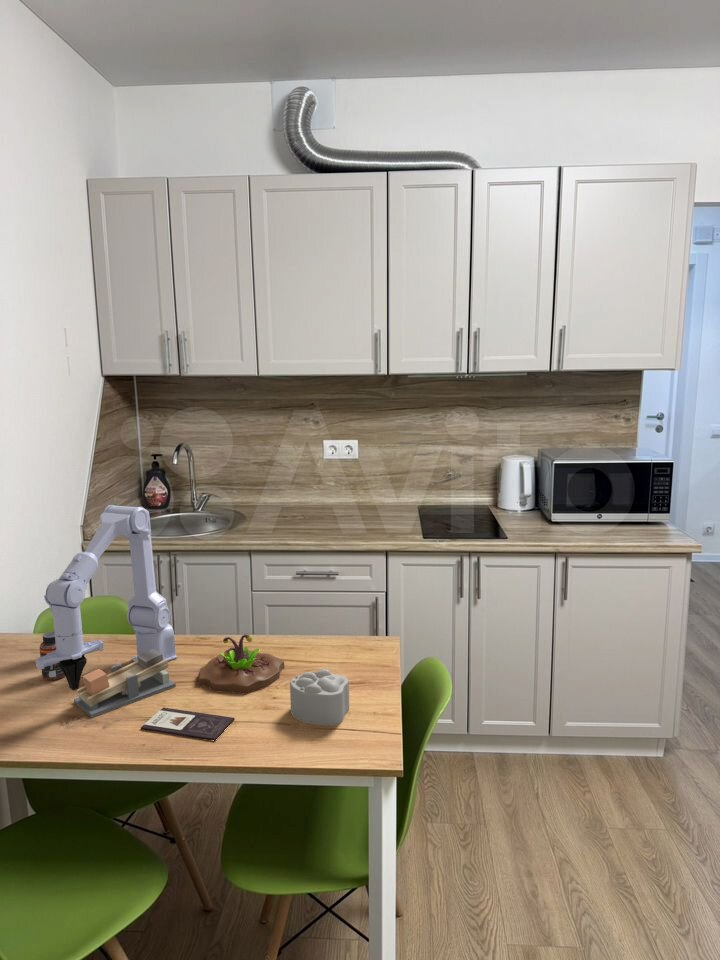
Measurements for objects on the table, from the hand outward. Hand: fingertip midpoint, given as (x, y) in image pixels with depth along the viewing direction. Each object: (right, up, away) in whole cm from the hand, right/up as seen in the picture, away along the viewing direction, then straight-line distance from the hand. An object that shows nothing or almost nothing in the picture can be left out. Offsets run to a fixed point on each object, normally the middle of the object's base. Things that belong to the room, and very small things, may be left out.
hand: (74, 688), depth 161 cm
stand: (+9, -4, +9) cm, 13 cm away
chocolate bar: (+27, -7, -5) cm, 29 cm away
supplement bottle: (-13, -3, +19) cm, 23 cm away
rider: (+4, -2, +4) cm, 6 cm away
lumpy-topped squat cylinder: (+56, -6, 0) cm, 56 cm away
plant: (+35, -3, +19) cm, 40 cm away
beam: (+9, -2, +9) cm, 13 cm away
